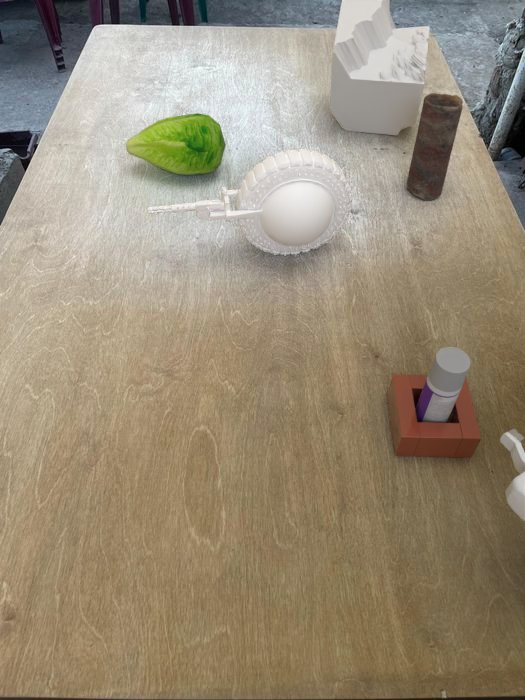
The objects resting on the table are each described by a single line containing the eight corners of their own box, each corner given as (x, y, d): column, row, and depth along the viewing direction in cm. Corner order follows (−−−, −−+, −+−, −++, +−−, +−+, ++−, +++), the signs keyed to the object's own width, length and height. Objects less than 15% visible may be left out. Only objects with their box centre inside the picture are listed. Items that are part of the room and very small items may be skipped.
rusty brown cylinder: (398, 192, 128) (418, 99, 113) (413, 175, 132) (435, 84, 117) (432, 205, 126) (457, 112, 110) (447, 188, 130) (473, 96, 114)
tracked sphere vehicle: (158, 290, 109) (143, 195, 93) (153, 237, 118) (139, 142, 103) (352, 269, 113) (368, 175, 98) (333, 220, 122) (345, 126, 107)
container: (412, 408, 93) (435, 343, 82) (444, 414, 93) (471, 349, 81) (410, 434, 90) (434, 370, 79) (443, 440, 90) (472, 376, 78)
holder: (457, 395, 95) (466, 375, 91) (471, 457, 88) (481, 438, 84) (386, 394, 95) (392, 374, 91) (395, 456, 88) (401, 437, 84)
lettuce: (135, 151, 136) (127, 99, 127) (227, 152, 137) (225, 100, 128) (127, 189, 127) (117, 136, 118) (225, 190, 128) (223, 137, 119)
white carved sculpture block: (420, 93, 150) (442, 1, 127) (414, 146, 144) (437, 61, 121) (336, 85, 152) (343, -6, 129) (327, 138, 147) (332, 52, 123)
